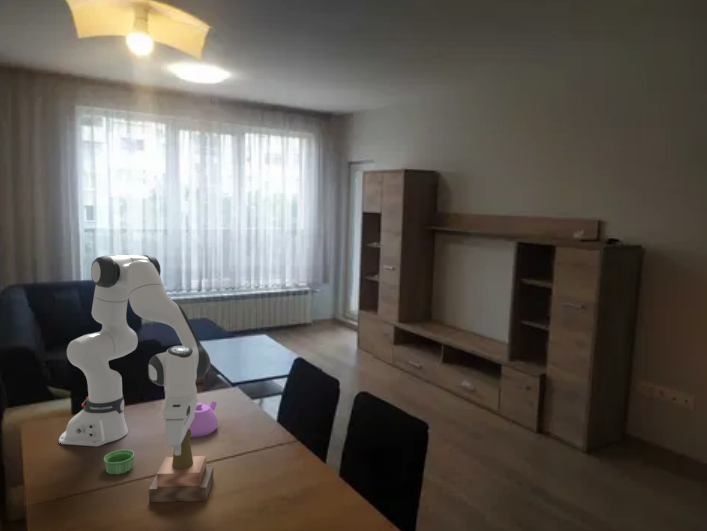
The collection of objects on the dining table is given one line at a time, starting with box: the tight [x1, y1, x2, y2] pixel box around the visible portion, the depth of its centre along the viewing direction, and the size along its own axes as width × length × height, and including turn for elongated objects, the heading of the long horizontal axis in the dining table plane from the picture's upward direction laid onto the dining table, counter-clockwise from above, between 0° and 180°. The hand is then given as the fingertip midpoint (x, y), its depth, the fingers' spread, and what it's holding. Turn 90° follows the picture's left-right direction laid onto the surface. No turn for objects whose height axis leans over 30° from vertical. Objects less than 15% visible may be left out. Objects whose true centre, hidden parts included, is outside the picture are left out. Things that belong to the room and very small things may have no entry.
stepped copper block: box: [148, 455, 214, 503], centre depth 152 cm, size 16×12×8 cm
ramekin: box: [103, 449, 135, 475], centre depth 164 cm, size 9×9×4 cm
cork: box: [172, 429, 193, 470], centre depth 151 cm, size 6×6×11 cm
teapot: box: [190, 400, 219, 438], centre depth 194 cm, size 14×20×11 cm
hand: (182, 446), depth 151 cm, fingers open, 8 cm apart
